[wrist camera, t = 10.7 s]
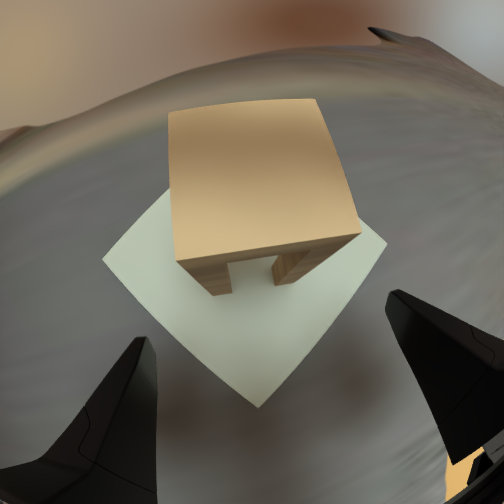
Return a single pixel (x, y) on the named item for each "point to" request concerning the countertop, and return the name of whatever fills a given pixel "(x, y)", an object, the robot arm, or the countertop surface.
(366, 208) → the countertop surface
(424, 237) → the countertop surface
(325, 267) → the board
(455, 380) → the robot arm
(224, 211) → the wooden footstool
